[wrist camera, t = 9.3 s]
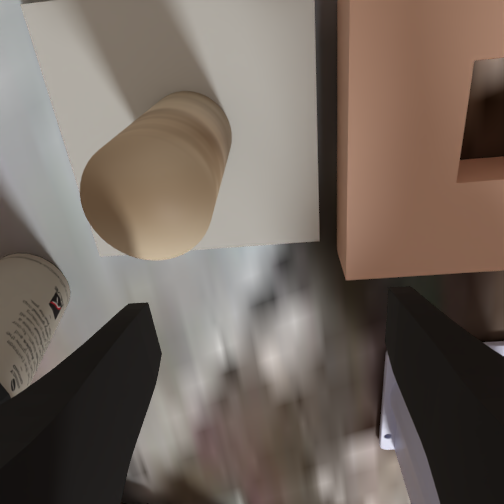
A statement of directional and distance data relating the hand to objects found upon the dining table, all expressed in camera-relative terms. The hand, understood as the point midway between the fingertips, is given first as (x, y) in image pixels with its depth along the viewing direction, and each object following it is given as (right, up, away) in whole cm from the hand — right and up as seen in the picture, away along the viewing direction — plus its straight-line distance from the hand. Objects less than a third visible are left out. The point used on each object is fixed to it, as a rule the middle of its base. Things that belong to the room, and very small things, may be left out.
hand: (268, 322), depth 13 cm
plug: (-3, +8, +7) cm, 11 cm away
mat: (-3, +8, +7) cm, 11 cm away
